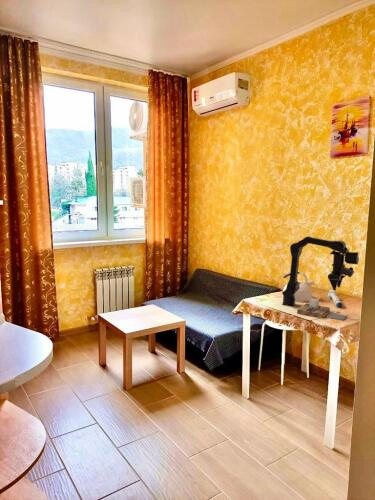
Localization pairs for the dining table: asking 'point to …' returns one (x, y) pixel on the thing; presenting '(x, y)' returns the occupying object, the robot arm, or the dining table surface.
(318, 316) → the walnut rail plate
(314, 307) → the steel nut block
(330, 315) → the charcoal mat
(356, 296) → the dining table surface
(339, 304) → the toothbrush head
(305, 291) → the kettle
